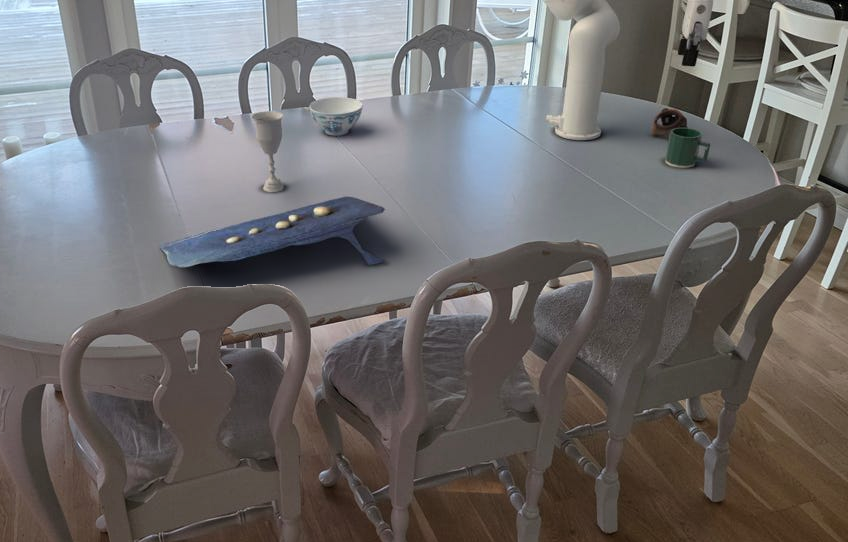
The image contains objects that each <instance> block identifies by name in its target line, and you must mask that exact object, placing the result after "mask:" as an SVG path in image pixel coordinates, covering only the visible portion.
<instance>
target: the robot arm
mask: <svg viewBox="0 0 848 542" xmlns="http://www.w3.org/2000/svg"><path fill="white" fill-rule="evenodd" d="M542 1H543V3H544V4H545V5H546V6H547V8H548V9H549V11H550V12H551V14H552V15H553V16H554V17H555V18H556V19H558V20H560V21H563V22H567V21H571V20H573V19H574V20H575V22H576V23H575V24H574V25H573V27H572V29H571V30H570V33H569V37H568V63H567V65H568V66H567V74H566V84H565V93H564V100H563V106H562V107H563V108H562V113H561V115H560V114H558V115H552V114H547V115H546V117H545V122H546V123H548V125H555V127H554V132H555V134H556V135H557V136H559V137H560V138H564V139H567V140H572V141H590V140H594V139H597V138H599V137H600V136H601V134H602V129H601V128H600V127H599V126H597V122H598V115H599V109H600V101H601V96H602V89H603V81H604V74H605V65H606V64H605V62H606V57H605V55H606V53H605V52H606V48H607V47H608V46H610V45H611V44H613V42H615V41H616V39H618V37H619V35H620V31H621V23H620V20H619V18H618V16H617V14H616V12H615V11H614V9H613V8H612V7H611V6H610V4H609V3H608V1H607V0H542ZM713 6H714V0H687V3H686V7H685V10H684V11H685V12H684V16H683V21H682V25H681V26H682V27H681V31H682V34H681V38H680V40H679V45H678V49H677V50H678V51H677V56H682V60H681V66H683V67H692V68H693V67H695V66H696V65H697V60H698V56H699V52H700V45H701V40H702V41H706V39H707V37H708V32H709V27H710V21H711V17H712V11H713Z"/></svg>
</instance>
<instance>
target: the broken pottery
mask: <svg viewBox="0 0 848 542" xmlns="http://www.w3.org/2000/svg"><path fill="white" fill-rule="evenodd" d="M659 119H660V121H661V124H659V123H658V121H659ZM674 128H689V127H688V119H687V117H686V116H685V115H684V114H682V113H681V111H680V110H678V109H674V108H667V107H665V108H663V109H662V110H661V111H660V112H659V113H658V114H656V116H655V117H654V120H653V125H652V130H651V133H652V136H653V137H656V135H659V136H660V135H661V136H667V135H670V131H671V130H672V129H674Z"/></svg>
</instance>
